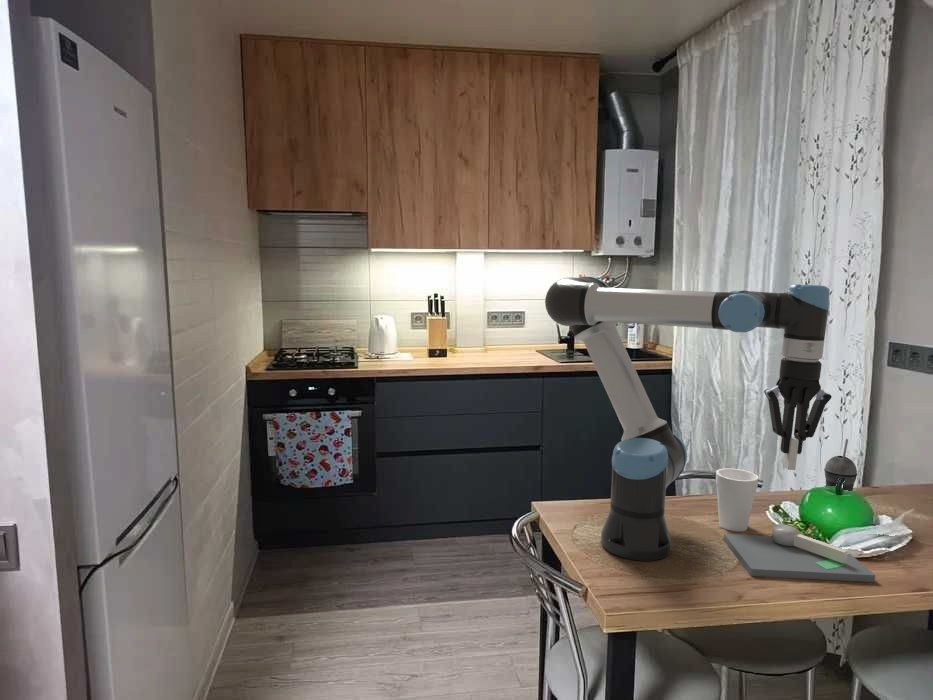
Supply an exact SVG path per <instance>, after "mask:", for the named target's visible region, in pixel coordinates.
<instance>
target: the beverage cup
mask: <svg viewBox="0 0 933 700" xmlns="http://www.w3.org/2000/svg"><path fill="white" fill-rule="evenodd" d="M848 445H849V439H848V438H845V442H844V447H843V454H842V455H835V456H833V457H831V458H830V459H828V461H826V463H825V466H824V468H823V470H824V477H825V488H826V487H827V486H836V484H837V481H838V479H839V478H846V480H845V482H844V483H843V489H844V490H848V491H852V492H853V489H854V486H855V483H856V481H857V480H856V479H857V476H858V469H857V467H856V464H855V463H854V461H853V460H852V459H850V458H849V457H847V456H846V453H847V450H848V449H847V448H848Z"/></svg>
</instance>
